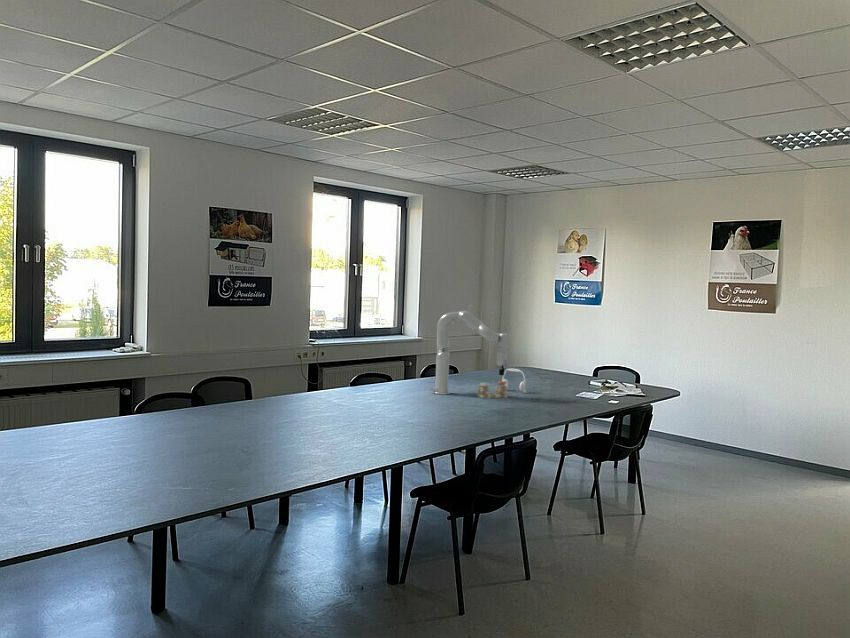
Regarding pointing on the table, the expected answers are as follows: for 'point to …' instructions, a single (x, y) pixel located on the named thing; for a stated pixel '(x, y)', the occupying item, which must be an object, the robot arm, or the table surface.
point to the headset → (522, 384)
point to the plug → (483, 384)
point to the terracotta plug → (501, 383)
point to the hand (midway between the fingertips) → (501, 374)
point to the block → (484, 393)
